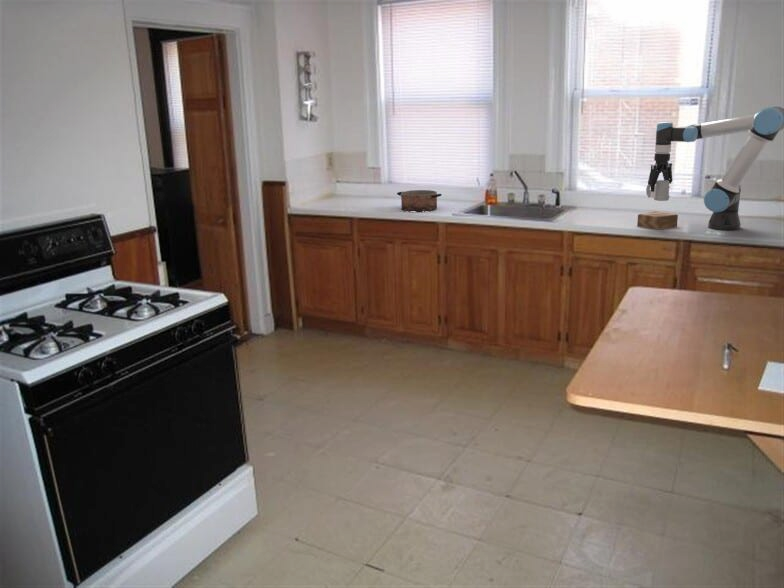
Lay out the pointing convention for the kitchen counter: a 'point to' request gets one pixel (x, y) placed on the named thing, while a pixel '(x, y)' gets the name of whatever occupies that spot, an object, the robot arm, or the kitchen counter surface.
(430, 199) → the cooking pot
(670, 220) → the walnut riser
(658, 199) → the mug
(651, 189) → the robot arm
